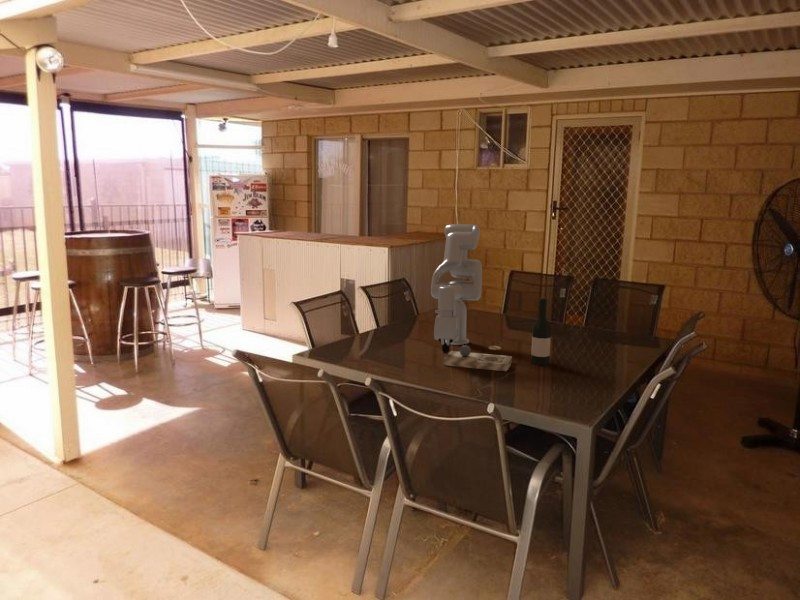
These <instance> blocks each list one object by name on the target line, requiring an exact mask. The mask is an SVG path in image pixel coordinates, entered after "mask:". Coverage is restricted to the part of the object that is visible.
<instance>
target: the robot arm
mask: <svg viewBox="0 0 800 600" xmlns="http://www.w3.org/2000/svg"><path fill="white" fill-rule="evenodd" d="M444 236H445V245H444V246H445V247H444V256H443V261H442V262H441V264H439V265H438V266H437V268H436V269H434V272H433V275H432V277H431V285H430V295H431V297H432V298H433V299H436V300H437V302H438V303H437V304H438V305H437V309H435V310H434V313H435V314H437V315H435V316H436V317H435V320H434V329H433V336H434V337H433V338H434V340H436V341H439V343H440V344H441V345H442V347H441V350H442V352H443V354H444V355H445V354H447V355H448V354H449V353H450V345H452V346H464V344H465V345H468V344H469V343H470V340H469V339H468V338H467V312H468V311H467V310H468V309H467V305H466V304H465V302H464V301H479V300H480V299H481V298H482V288H483V266H482V262H481V261H480V260H479V259H472V258H470V259H469V258H468V253H469V252H468V251H473V250H475V249H477V247H478V243H479V241H480V237H481V228H480V226H479V225H478V224H471V223H470V224H469V223H468V224H467V223H463V224H462V223H452V224H451V223H450V224H447V225H445V227H444ZM448 272H449V273H450V275H451V277H453V278H456V279H470V281H469V280H451V281H448V282H439V280H440V278H441V277H442V276H443V275H444V274H445V273H448Z"/></svg>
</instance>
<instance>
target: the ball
mask: <svg viewBox="0 0 800 600" xmlns="http://www.w3.org/2000/svg"><path fill="white" fill-rule="evenodd" d="M471 351H472V349H471V347H470V346H469V345H468V344H465V345H461V347H459V352H460V354H461V355H462V356H468V355H469V354H470V353H472V352H471Z"/></svg>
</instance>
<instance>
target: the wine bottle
mask: <svg viewBox="0 0 800 600" xmlns="http://www.w3.org/2000/svg"><path fill="white" fill-rule="evenodd" d="M547 302H548V299H547V298H546V297H545V296H541V297H540V298H539V299H538V317H537V319H536V320H535V322H534V324H533V325H532V327H531V328H532V331H531V354H530V355H531V356H530V363H532V364H531V365H533V364H534V366H536V365H537V367H547V366H549V365H550V357H551V356H550V354H551V339H552V338H551V337H552V328H551V326H550V324H549V321H548V319H547V307H548V306H547V305H548V303H547ZM546 365H547V366H546Z"/></svg>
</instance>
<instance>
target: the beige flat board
mask: <svg viewBox="0 0 800 600" xmlns="http://www.w3.org/2000/svg"><path fill="white" fill-rule="evenodd" d="M511 363H512V364H513V356H511V355H502V354H501V355H500V354H490V353H489V354H488V353H482V352H481V353H480V352H471V353H470V354H469V355H468V356H462V355H461V354H460V350H459V351H456V350H450V351H449V352H448V353H447V355H446V356H444V358H443V366H450V367H459V368H470V369H478V370H479V369H480V370H487V371H496V372H497V371H499V372H508V371H509V368H511V365H512V364H511ZM507 370H508V371H507Z"/></svg>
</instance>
